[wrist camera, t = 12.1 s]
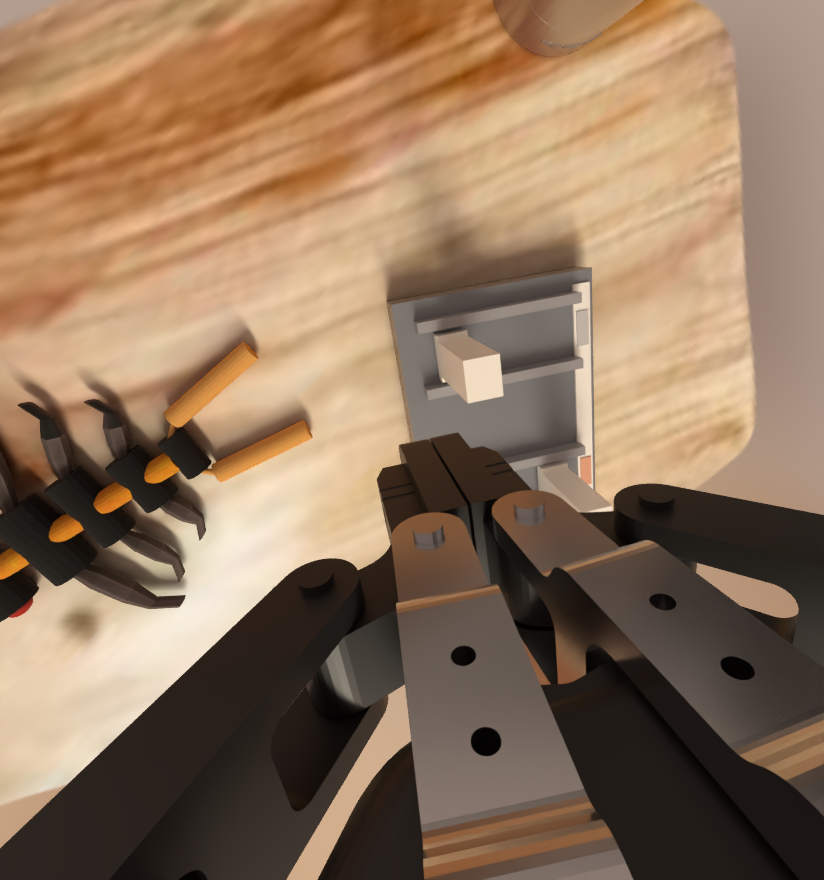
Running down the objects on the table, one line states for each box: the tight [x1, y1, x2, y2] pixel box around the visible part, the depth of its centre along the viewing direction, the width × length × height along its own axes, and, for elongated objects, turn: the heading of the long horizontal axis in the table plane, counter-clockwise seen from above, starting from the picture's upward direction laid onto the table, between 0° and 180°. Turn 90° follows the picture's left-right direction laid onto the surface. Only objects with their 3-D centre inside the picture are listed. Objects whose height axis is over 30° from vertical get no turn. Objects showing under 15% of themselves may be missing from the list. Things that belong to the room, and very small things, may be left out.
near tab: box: [433, 329, 504, 403], centre depth 35 cm, size 4×2×8 cm, turn 9°
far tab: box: [537, 460, 612, 512], centre depth 41 cm, size 4×2×8 cm, turn 9°
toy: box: [0, 342, 312, 622], centre depth 39 cm, size 23×4×30 cm
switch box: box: [387, 267, 595, 491], centre depth 42 cm, size 22×16×4 cm
